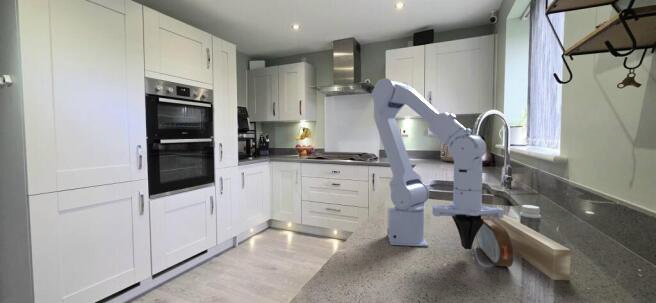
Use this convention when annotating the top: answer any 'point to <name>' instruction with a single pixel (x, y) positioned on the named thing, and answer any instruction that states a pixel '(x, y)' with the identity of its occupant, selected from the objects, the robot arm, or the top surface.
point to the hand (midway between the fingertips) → (466, 247)
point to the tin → (495, 242)
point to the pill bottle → (531, 217)
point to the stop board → (538, 249)
